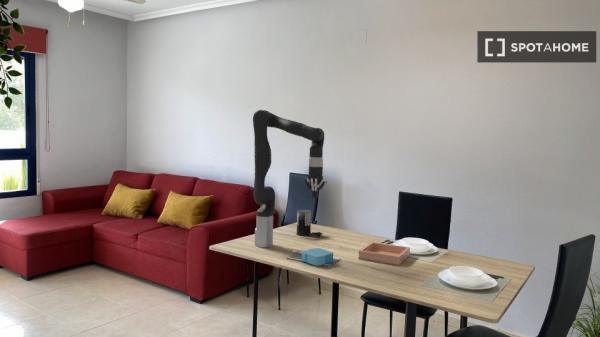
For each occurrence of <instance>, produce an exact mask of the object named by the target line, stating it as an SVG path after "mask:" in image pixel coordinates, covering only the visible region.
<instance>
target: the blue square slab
mask: <svg viewBox="0 0 600 337" xmlns="http://www.w3.org/2000/svg"><path fill="white" fill-rule="evenodd" d="M301 253H302V261H304V262H303V263H306V262H307V264H309V265H310V264H311V265H312V266H317V267H319V266H323V264H327V263H330V262H333V258H334V252H333V251H330V250H326V249H322V248H320V247H315V248H312V249H308V250H307V249H306V250H303V251H301Z"/></svg>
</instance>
